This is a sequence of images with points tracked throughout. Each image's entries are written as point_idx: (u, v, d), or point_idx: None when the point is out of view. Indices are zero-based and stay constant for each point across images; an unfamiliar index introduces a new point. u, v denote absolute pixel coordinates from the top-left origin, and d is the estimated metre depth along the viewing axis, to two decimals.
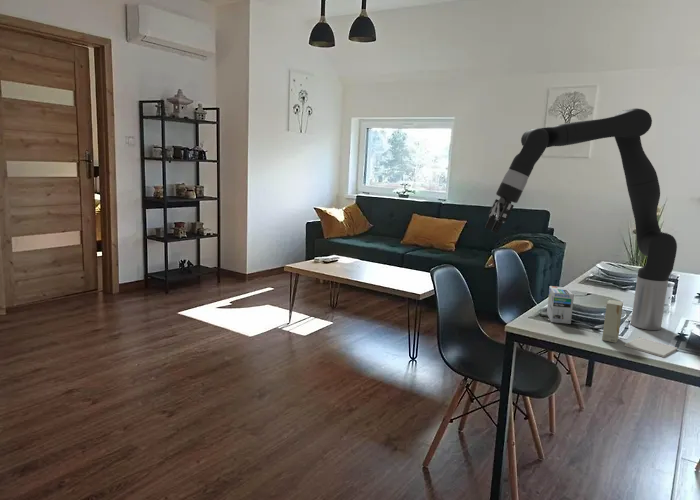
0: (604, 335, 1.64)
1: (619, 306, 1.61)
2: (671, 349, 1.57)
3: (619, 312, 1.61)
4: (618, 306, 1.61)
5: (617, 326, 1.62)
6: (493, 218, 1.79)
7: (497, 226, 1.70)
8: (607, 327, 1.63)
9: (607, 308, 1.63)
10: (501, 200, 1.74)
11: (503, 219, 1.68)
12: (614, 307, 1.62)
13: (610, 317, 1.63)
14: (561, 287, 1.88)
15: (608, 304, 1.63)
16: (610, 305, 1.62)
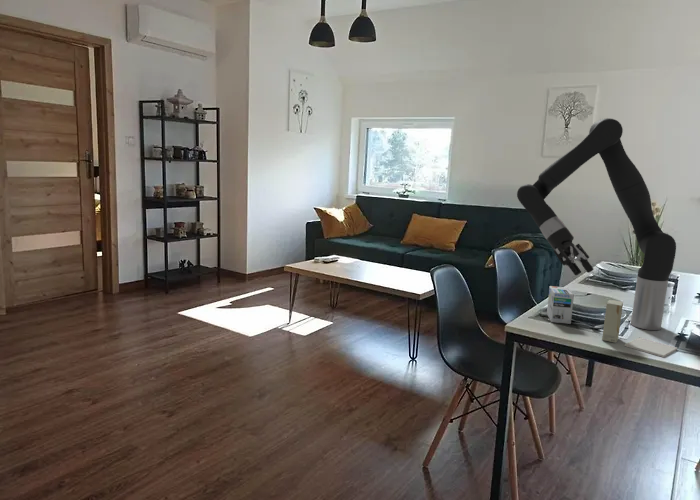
0: (604, 335, 1.64)
1: (619, 306, 1.61)
2: (671, 349, 1.57)
3: (619, 312, 1.61)
4: (618, 306, 1.61)
5: (617, 326, 1.62)
6: (583, 261, 1.75)
7: (572, 269, 1.68)
8: (607, 327, 1.63)
9: (607, 308, 1.63)
10: None
11: (565, 262, 1.68)
12: (614, 307, 1.62)
13: (610, 317, 1.63)
14: (561, 287, 1.88)
15: (608, 304, 1.63)
16: (610, 305, 1.62)
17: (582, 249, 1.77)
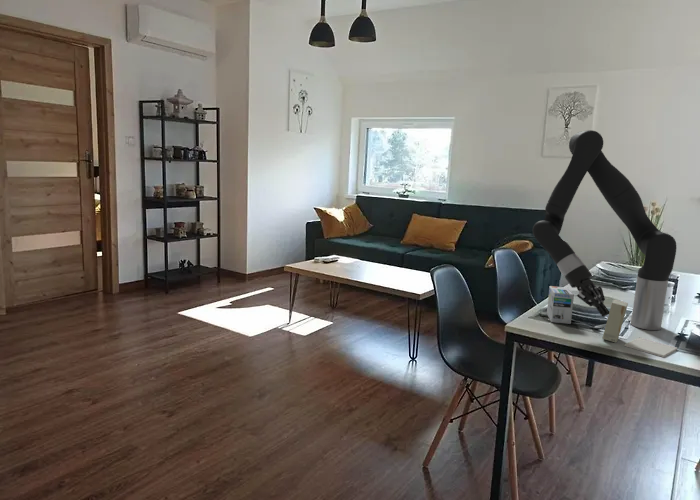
0: (605, 334, 1.64)
1: (624, 307, 1.60)
2: (671, 349, 1.57)
3: (623, 313, 1.61)
4: (623, 307, 1.60)
5: (619, 326, 1.62)
6: None
7: (599, 310, 1.67)
8: (609, 326, 1.63)
9: (612, 308, 1.62)
10: None
11: (592, 303, 1.67)
12: (619, 307, 1.61)
13: (614, 317, 1.62)
14: (561, 287, 1.88)
15: (613, 304, 1.62)
16: (615, 305, 1.62)
17: (601, 291, 1.72)
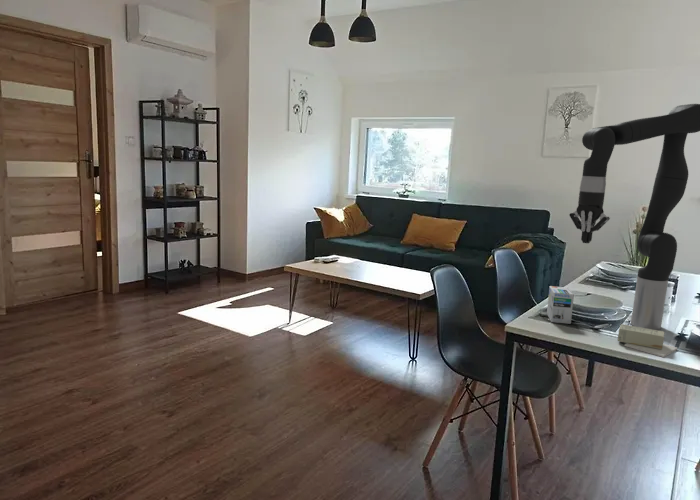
0: (625, 331, 1.61)
1: (660, 347, 1.56)
2: (671, 349, 1.57)
3: (653, 347, 1.57)
4: (660, 347, 1.56)
5: (636, 343, 1.60)
6: (586, 231, 1.72)
7: (590, 237, 1.71)
8: (635, 334, 1.60)
9: (657, 336, 1.57)
10: (587, 208, 1.70)
11: (597, 229, 1.70)
12: (659, 343, 1.56)
13: (646, 339, 1.58)
14: (561, 287, 1.88)
15: (662, 338, 1.56)
16: (661, 340, 1.56)
17: None
